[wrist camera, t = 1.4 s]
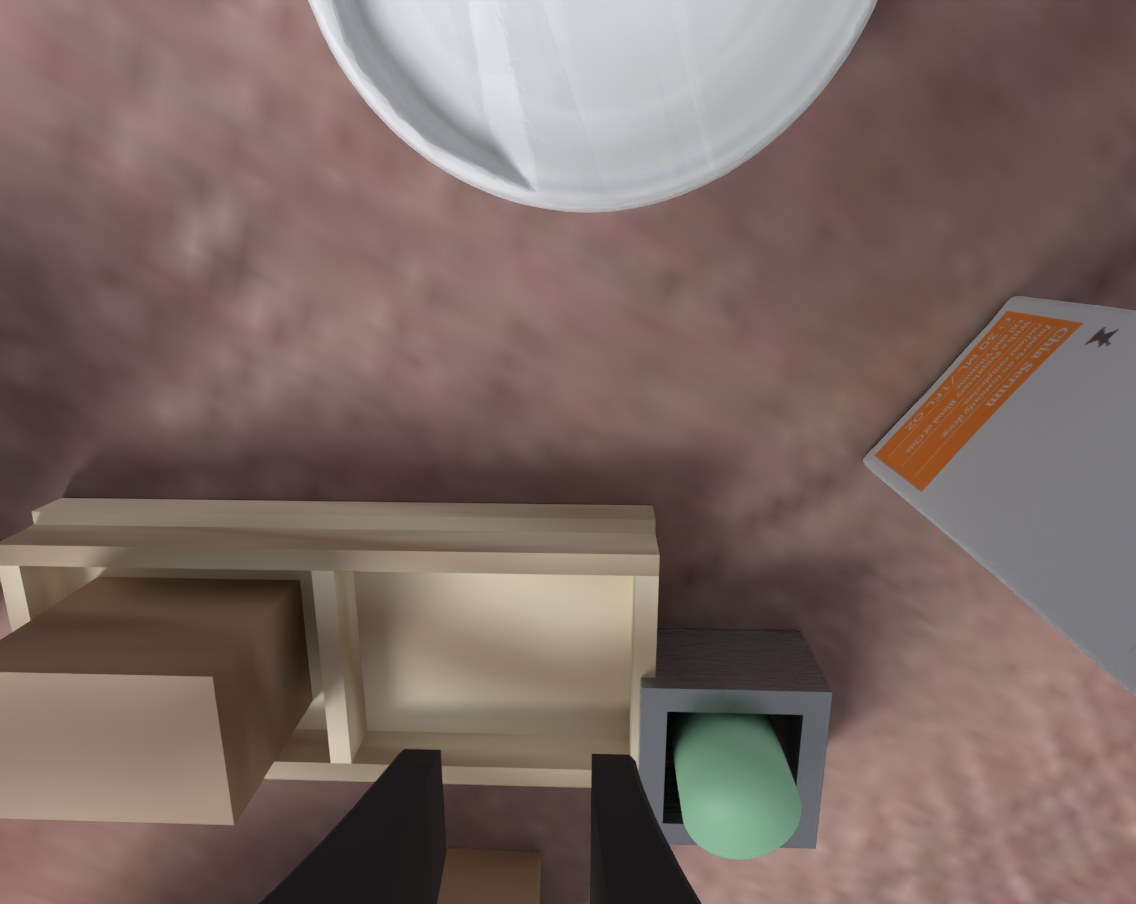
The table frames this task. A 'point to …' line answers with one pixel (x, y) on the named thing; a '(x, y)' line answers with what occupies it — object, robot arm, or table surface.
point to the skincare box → (1037, 466)
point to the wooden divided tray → (405, 619)
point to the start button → (733, 783)
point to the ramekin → (590, 87)
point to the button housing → (735, 711)
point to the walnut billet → (491, 877)
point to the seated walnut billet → (151, 699)
